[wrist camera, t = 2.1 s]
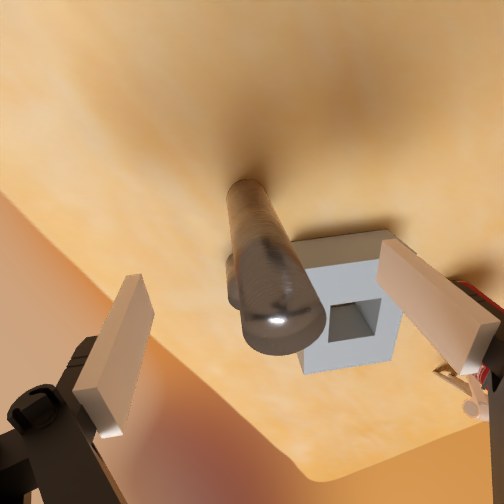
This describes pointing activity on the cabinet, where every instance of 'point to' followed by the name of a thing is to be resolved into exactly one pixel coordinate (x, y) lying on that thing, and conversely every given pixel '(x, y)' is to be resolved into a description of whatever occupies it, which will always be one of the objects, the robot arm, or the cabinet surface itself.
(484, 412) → the portable electronic device stand
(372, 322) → the block
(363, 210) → the cabinet surface
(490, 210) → the cabinet surface
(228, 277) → the short pin
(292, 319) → the long pin
